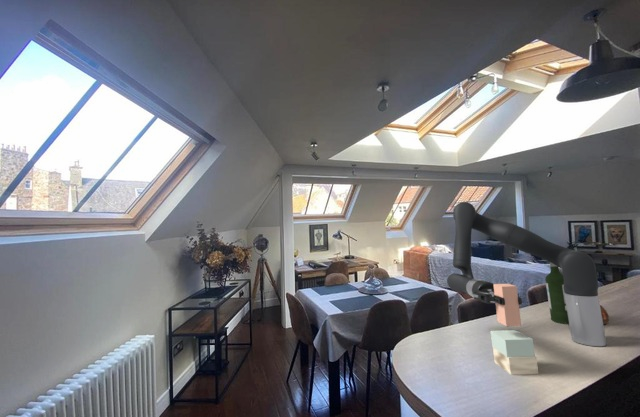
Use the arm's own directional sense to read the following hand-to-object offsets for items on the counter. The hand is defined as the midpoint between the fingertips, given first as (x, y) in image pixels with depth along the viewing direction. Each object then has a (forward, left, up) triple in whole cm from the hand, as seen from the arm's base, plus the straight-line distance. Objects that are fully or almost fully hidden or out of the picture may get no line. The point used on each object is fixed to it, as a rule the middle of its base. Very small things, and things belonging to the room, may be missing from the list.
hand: (511, 301), depth 83 cm
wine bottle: (-62, -13, -21) cm, 67 cm away
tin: (-72, -6, -21) cm, 76 cm away
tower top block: (-1, -3, -16) cm, 16 cm away
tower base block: (-1, -2, -21) cm, 21 cm away
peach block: (-1, -2, -7) cm, 8 cm away
